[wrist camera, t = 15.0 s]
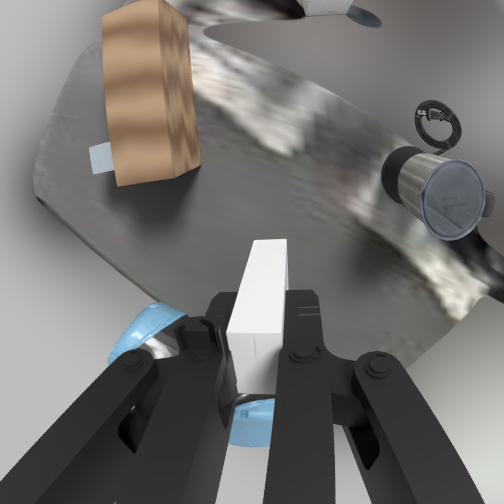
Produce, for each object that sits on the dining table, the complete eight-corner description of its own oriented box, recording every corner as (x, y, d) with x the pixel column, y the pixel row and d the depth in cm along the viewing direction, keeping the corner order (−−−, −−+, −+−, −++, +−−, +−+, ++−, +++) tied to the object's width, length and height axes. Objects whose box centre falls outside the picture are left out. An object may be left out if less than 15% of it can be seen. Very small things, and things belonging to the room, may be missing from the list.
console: (201, 164, 41) (174, 178, 31) (154, 171, 43) (117, 186, 33) (187, 19, 32) (157, -6, 22) (140, 33, 33) (102, 16, 23)
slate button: (158, 159, 38) (145, 163, 34) (108, 169, 39) (93, 174, 35) (154, 132, 36) (141, 133, 32) (104, 144, 37) (88, 147, 34)
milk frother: (384, 209, 41) (422, 248, 27) (365, 106, 35) (403, 99, 21) (458, 195, 38) (511, 226, 24) (445, 99, 32) (503, 97, 18)
